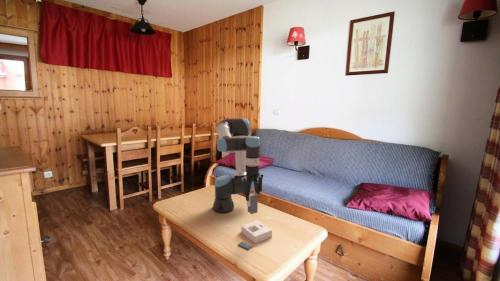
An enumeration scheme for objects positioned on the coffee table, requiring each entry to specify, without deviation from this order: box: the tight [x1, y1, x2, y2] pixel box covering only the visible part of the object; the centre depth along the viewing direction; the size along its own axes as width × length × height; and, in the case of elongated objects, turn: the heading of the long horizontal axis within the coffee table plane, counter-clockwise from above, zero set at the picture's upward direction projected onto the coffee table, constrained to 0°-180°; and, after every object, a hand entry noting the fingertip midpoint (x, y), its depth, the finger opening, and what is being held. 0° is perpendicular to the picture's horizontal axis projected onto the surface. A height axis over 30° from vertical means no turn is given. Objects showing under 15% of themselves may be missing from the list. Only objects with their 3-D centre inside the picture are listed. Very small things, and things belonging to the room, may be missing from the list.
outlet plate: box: [240, 219, 273, 244], centre depth 142 cm, size 14×12×4 cm
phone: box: [237, 241, 253, 251], centre depth 131 cm, size 7×4×1 cm, turn 52°
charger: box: [247, 192, 259, 215], centre depth 137 cm, size 4×4×10 cm
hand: (252, 204), depth 137 cm, fingers closed on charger, 4 cm apart
